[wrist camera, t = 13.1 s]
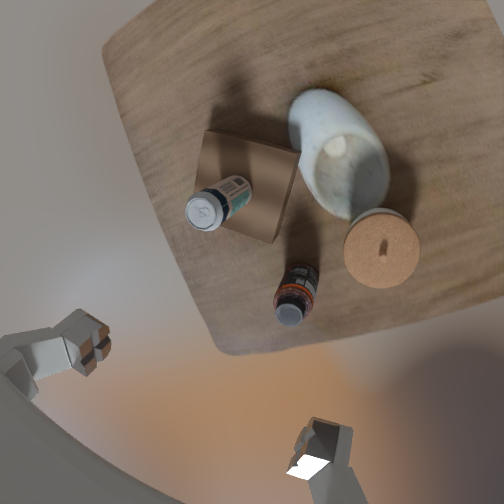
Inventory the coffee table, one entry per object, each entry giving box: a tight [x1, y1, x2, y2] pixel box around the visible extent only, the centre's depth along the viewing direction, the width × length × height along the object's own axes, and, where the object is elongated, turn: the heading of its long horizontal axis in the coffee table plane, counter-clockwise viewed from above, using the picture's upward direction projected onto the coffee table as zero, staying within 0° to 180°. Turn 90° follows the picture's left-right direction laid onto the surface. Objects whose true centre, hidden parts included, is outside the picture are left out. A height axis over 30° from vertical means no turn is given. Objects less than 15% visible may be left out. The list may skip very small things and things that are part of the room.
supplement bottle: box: [273, 263, 319, 327], centre depth 47 cm, size 6×6×11 cm
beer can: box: [185, 175, 252, 231], centre depth 39 cm, size 5×5×12 cm
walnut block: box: [194, 129, 301, 244], centre depth 46 cm, size 14×14×4 cm
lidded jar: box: [343, 208, 420, 288], centre depth 40 cm, size 11×11×9 cm
